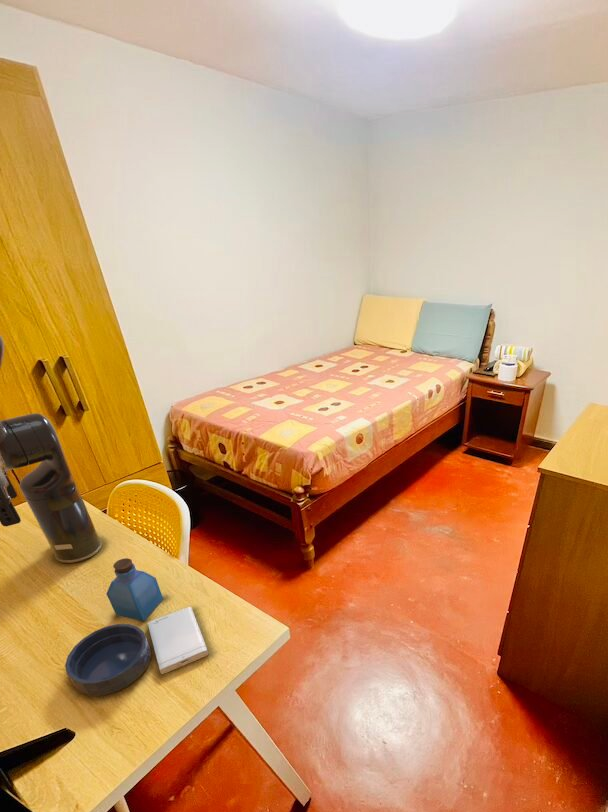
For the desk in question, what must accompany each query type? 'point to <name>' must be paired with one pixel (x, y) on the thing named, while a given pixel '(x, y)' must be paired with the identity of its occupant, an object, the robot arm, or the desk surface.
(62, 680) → the desk surface
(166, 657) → the hard drive
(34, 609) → the desk surface
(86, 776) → the desk surface
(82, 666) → the bowl
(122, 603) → the perfume bottle
